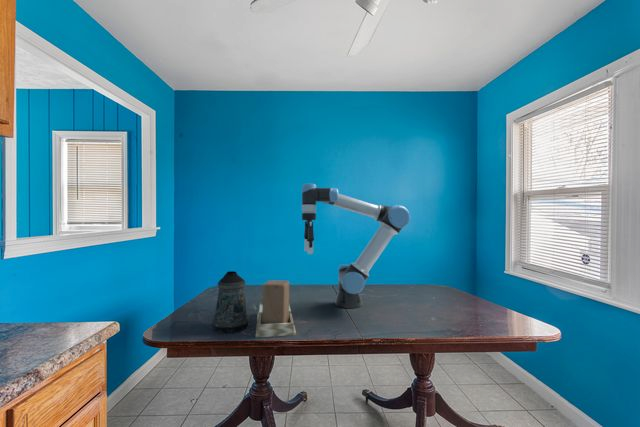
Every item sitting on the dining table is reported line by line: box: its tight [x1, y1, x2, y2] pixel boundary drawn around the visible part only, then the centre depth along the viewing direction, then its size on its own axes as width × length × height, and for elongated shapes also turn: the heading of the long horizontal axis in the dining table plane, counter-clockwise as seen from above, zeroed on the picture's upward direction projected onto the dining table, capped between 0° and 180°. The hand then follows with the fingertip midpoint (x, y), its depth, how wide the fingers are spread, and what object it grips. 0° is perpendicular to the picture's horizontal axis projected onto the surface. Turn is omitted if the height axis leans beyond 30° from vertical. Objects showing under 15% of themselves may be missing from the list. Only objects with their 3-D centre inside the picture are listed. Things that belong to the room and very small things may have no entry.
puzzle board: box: [255, 306, 297, 338], centre depth 147 cm, size 17×32×5 cm, turn 10°
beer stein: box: [211, 270, 251, 335], centre depth 143 cm, size 16×19×25 cm
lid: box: [258, 297, 292, 314], centre depth 153 cm, size 15×15×4 cm
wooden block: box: [261, 279, 290, 324], centre depth 140 cm, size 10×10×20 cm
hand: (308, 252), depth 166 cm, fingers open, 13 cm apart
